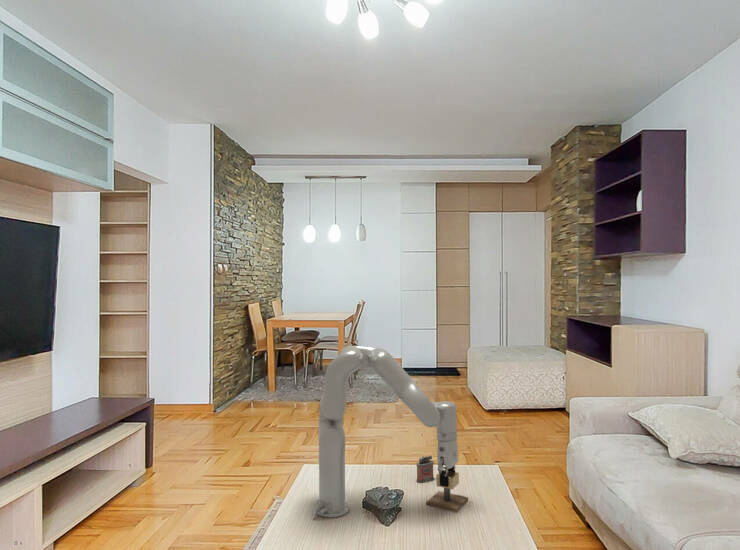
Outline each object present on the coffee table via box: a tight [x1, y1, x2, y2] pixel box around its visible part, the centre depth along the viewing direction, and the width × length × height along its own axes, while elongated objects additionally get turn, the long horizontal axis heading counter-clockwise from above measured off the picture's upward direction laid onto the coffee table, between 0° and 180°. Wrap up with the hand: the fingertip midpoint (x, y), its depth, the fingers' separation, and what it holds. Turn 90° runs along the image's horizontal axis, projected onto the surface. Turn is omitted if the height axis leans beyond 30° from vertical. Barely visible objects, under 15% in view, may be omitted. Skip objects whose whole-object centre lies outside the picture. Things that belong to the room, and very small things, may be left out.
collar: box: [435, 469, 460, 490], centre depth 187 cm, size 6×6×4 cm
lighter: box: [416, 455, 435, 484], centre depth 208 cm, size 8×3×10 cm, turn 118°
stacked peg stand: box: [425, 488, 469, 513], centre depth 187 cm, size 12×12×9 cm
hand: (447, 482), depth 187 cm, fingers closed on collar, 6 cm apart
